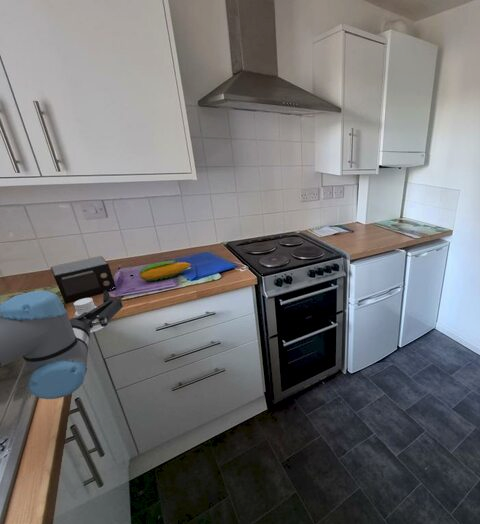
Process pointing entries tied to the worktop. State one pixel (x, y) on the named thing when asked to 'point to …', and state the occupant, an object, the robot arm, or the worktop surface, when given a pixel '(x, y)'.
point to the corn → (162, 270)
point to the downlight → (86, 310)
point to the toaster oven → (83, 278)
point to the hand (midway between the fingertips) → (75, 302)
